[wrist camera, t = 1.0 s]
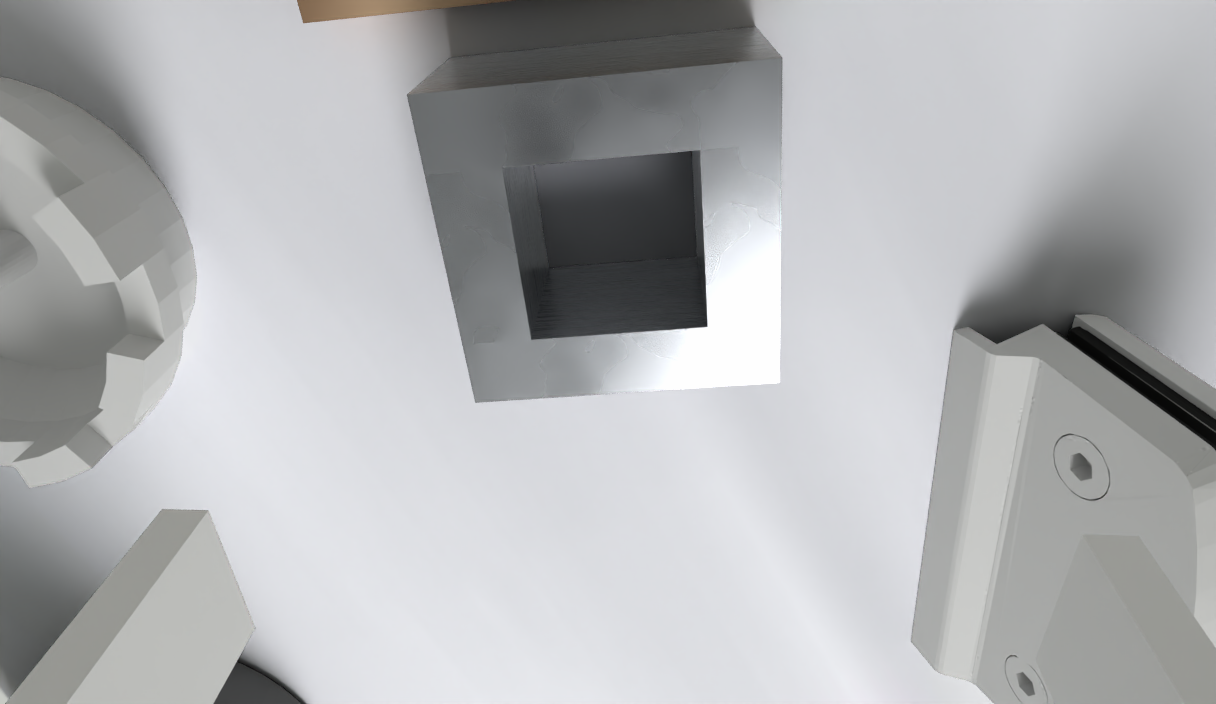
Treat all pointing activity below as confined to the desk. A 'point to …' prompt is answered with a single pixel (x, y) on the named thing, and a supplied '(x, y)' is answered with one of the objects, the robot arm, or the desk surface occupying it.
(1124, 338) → the hinge
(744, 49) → the grey hollow square block
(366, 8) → the wooden peg stand
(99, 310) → the flag stand
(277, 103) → the desk surface
